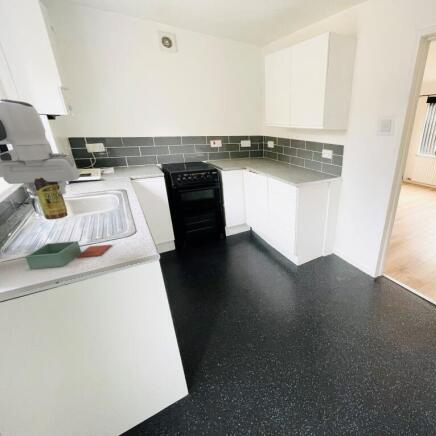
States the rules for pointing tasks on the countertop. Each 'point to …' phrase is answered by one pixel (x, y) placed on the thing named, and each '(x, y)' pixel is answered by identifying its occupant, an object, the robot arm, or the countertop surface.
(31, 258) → the green open tray
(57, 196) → the sauce bottle
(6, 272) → the countertop surface
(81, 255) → the drying mat
